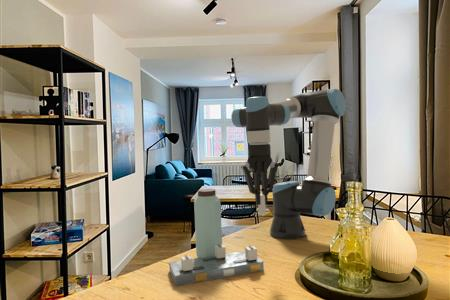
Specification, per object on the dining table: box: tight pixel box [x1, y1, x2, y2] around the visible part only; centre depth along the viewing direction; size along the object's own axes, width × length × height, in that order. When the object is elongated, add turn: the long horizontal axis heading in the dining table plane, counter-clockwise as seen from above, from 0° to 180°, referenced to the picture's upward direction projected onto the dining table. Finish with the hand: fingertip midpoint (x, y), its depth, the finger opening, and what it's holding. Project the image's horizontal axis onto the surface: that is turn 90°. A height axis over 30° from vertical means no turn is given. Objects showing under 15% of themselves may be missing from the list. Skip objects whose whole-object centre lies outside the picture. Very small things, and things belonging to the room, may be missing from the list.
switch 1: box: [180, 254, 193, 271], centre depth 106 cm, size 3×3×4 cm
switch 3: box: [244, 245, 258, 261], centre depth 112 cm, size 3×3×4 cm
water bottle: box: [193, 188, 223, 258], centre depth 124 cm, size 10×10×25 cm
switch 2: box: [215, 243, 227, 258], centre depth 115 cm, size 3×3×4 cm
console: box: [168, 250, 265, 287], centre depth 112 cm, size 29×12×3 cm, turn 107°
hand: (262, 213), depth 114 cm, fingers closed
